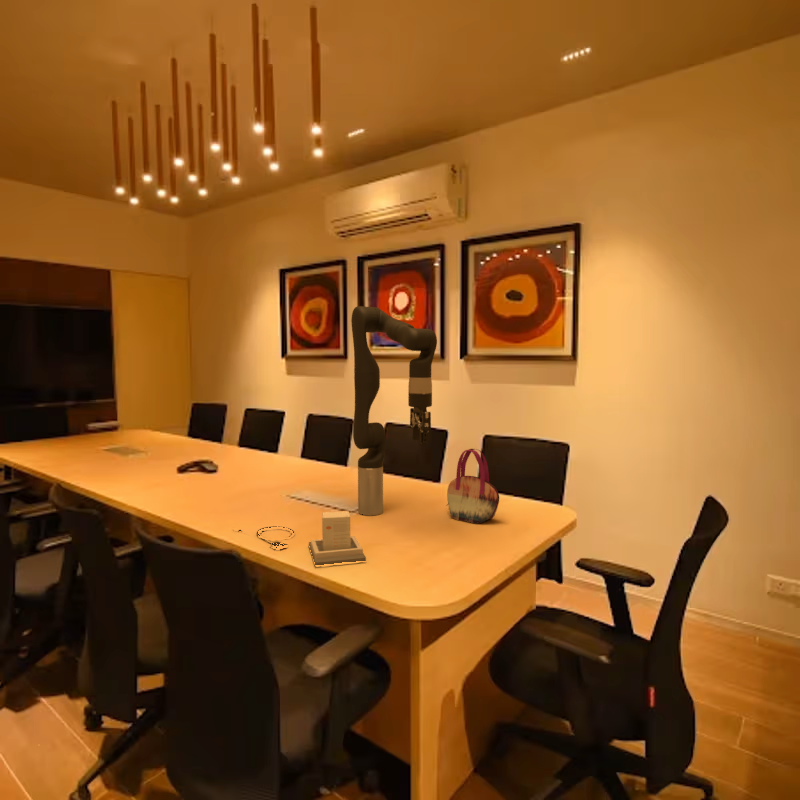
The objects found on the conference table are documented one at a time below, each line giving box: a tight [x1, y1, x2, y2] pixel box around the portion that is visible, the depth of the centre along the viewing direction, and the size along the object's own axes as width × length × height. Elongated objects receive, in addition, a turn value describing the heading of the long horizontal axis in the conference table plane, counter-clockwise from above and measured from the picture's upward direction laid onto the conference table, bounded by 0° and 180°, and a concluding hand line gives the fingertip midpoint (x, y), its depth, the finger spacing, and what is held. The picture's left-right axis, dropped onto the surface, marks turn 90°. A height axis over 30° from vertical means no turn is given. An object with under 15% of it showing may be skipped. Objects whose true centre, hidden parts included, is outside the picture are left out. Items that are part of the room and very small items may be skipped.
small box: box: [321, 510, 351, 551], centre depth 155 cm, size 8×6×10 cm
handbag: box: [445, 448, 500, 524], centre depth 190 cm, size 21×10×25 cm, turn 52°
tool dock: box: [308, 535, 367, 566], centre depth 155 cm, size 17×14×3 cm
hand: (419, 442), depth 172 cm, fingers open, 8 cm apart
